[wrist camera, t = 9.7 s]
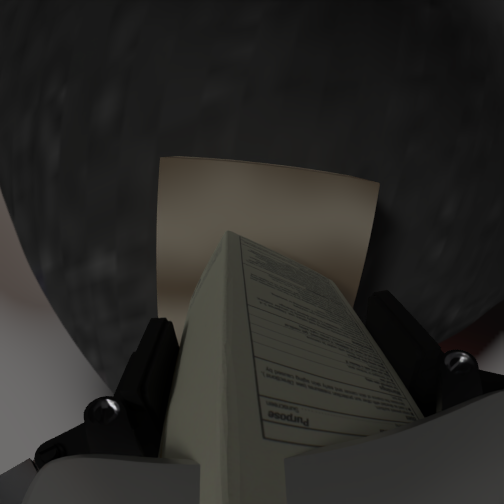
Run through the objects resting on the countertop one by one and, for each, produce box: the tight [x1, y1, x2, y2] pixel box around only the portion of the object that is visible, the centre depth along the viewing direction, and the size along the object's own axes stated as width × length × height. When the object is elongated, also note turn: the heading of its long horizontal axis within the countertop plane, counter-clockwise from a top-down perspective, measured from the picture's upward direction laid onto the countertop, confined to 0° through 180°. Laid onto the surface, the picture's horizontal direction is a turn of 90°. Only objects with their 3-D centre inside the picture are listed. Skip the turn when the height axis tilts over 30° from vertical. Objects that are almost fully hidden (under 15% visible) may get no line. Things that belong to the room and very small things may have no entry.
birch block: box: [157, 156, 380, 346], centre depth 19 cm, size 12×12×5 cm
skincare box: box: [158, 230, 424, 504], centre depth 9 cm, size 6×4×12 cm
